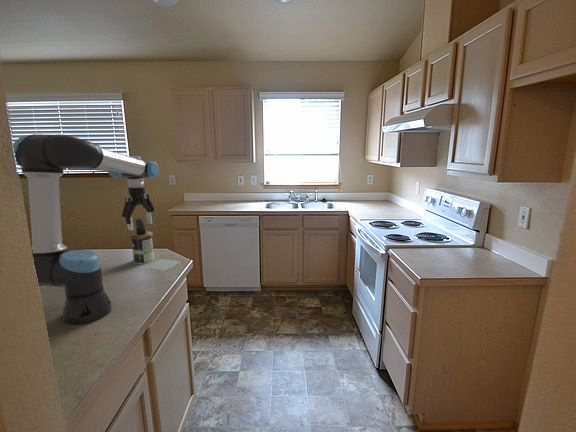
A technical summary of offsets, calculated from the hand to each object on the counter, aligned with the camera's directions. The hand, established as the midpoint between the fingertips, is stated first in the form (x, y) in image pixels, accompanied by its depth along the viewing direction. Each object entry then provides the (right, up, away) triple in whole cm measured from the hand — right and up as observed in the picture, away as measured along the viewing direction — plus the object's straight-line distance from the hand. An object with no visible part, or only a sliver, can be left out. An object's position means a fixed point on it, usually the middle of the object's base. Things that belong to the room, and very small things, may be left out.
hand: (140, 226), depth 164 cm
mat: (+13, -20, -2) cm, 24 cm away
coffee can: (0, -19, +4) cm, 19 cm away
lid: (0, -5, +1) cm, 5 cm away
